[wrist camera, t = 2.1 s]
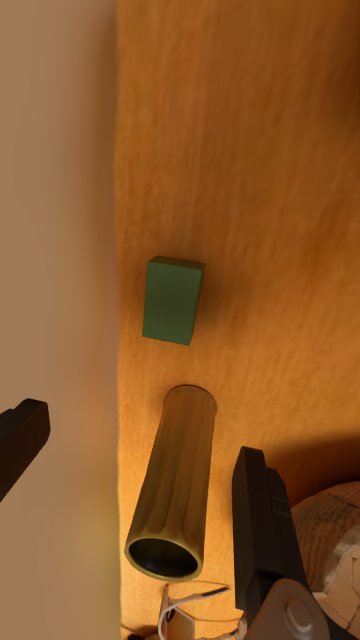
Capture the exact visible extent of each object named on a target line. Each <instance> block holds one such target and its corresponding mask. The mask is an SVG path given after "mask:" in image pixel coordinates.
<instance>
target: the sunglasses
mask: <svg viewBox="0 0 360 640" xmlns="http://www.w3.org/2000/svg"><path fill="white" fill-rule="evenodd" d="M168 590H169V588H168V587H166V588H165V590H164V595H163V598H162V603H161V608H160V615H159V622H158V633H159V637H160V639H161V640H227V639H231V638H233V637H234V636H235V633H236V630H237V629H238V627H237V628H236V629H235V630H233V631H232V632H229V633H224V634H222V635H221V636H218V637H216V638H204V637H202V638H199V639H194V634H195V621H194V619H192V618H191V617H190V616H189V615H187V614H186V613H184V612H183V611H181V610H180V609H178V608H177V607H176V606H178V605H181V604H183V603H186V602H189V601H193V600H198V599H205V598H209V597H212V596H215V595H218V594H221V593H224V592H227V591H230V590H231V588H230V587H229V586H226V587H222V588H219V589H216V590H213V591H209V592H205V593H197V594H193V595H190V596H188V597H185V598H183V599H172V600H171V601H169V602H168V596H167V594H168ZM169 610H170V611H169Z"/></svg>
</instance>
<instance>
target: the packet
mask: <svg viewBox="0 0 360 640" xmlns="http://www.w3.org/2000/svg"><path fill="white" fill-rule="evenodd" d="M204 266H205V264H203V263H197V262H191V261H185V260H178V259H172V258H166V257H160V256H156V257H154V258H153V259H151V260H149V261H148V267H147V280H146V293H145V306H144V320H143V333H142V337H147V338H152V339H157V340H162V341H168V342H173V343H178V344H183V345H188V346H190V343H191V340H192V336H193V332H194V326H195V320H196V314H197V308H198V302H199V296H200V290H201V284H202V278H203V272H204Z"/></svg>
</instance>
